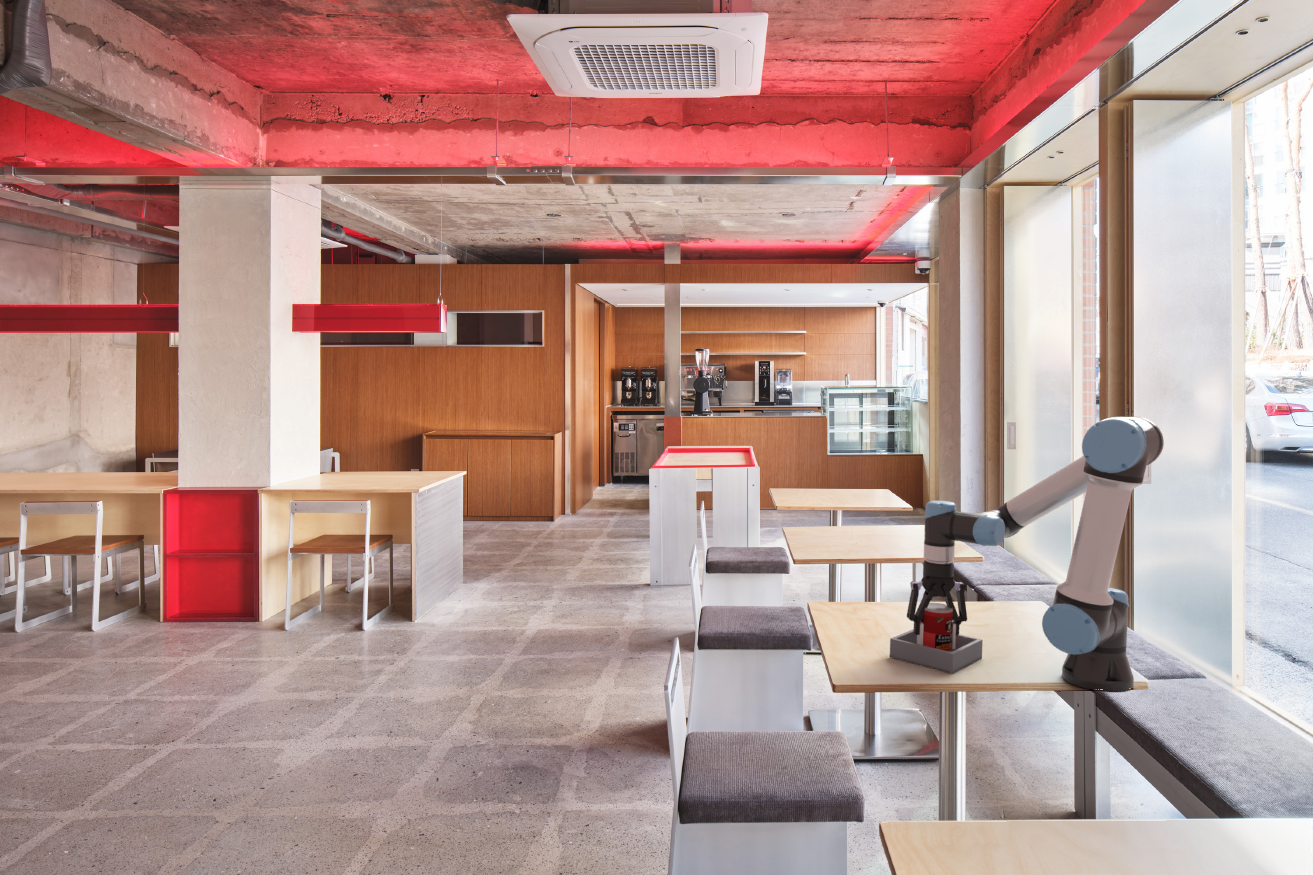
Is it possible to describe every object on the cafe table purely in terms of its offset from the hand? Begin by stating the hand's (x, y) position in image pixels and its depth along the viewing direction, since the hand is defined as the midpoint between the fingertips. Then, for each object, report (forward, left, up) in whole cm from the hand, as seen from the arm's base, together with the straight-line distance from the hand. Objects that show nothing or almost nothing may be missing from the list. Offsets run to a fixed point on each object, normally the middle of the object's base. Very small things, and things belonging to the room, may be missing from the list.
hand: (935, 646), depth 210 cm
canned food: (0, 0, 0) cm, 0 cm away
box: (0, 0, -3) cm, 3 cm away
